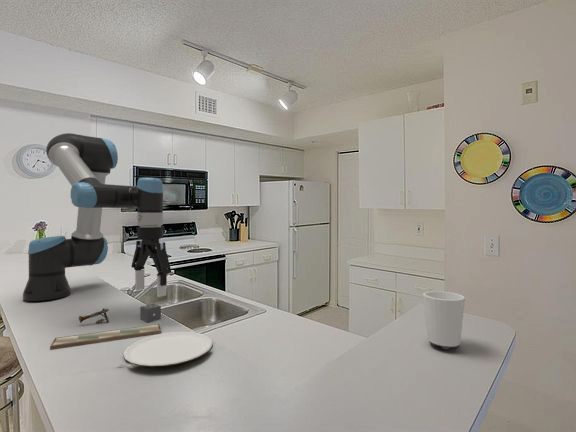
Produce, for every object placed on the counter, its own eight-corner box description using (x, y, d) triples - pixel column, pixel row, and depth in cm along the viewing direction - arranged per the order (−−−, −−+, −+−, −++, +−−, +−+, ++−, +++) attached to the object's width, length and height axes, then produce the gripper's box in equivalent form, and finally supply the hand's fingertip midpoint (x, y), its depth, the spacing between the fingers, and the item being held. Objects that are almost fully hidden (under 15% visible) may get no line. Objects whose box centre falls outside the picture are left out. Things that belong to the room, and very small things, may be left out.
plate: (124, 378, 68) (124, 372, 68) (122, 343, 87) (122, 339, 87) (222, 358, 78) (222, 353, 78) (202, 331, 97) (202, 326, 97)
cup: (461, 339, 88) (461, 292, 88) (468, 354, 79) (468, 301, 79) (421, 335, 92) (421, 289, 92) (424, 349, 82) (424, 298, 82)
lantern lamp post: (78, 317, 99) (107, 307, 102) (79, 315, 101) (108, 306, 104) (82, 331, 100) (111, 321, 103) (83, 329, 101) (112, 320, 104)
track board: (55, 340, 88) (55, 337, 88) (159, 326, 99) (159, 323, 99) (50, 349, 82) (50, 346, 82) (161, 333, 94) (161, 330, 94)
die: (140, 320, 105) (140, 306, 105) (153, 317, 109) (153, 303, 109) (147, 323, 102) (147, 308, 102) (161, 320, 106) (161, 305, 106)
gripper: (120, 226, 110) (120, 289, 110) (160, 227, 95) (160, 301, 95) (142, 225, 116) (142, 285, 116) (183, 226, 101) (183, 296, 101)
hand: (150, 292), depth 106 cm, fingers open, 13 cm apart
